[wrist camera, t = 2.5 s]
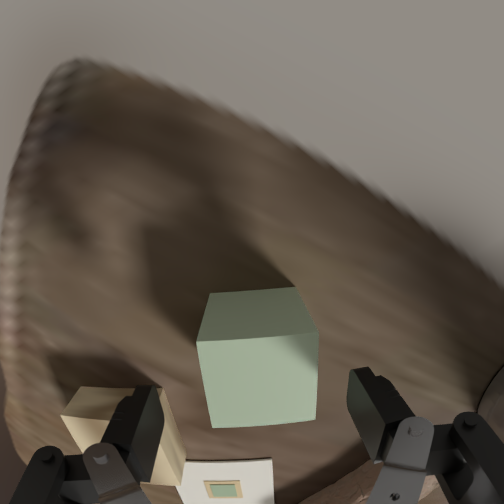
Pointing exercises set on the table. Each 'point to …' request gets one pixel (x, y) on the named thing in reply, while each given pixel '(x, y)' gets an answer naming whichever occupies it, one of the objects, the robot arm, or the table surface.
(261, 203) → the table surface
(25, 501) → the robot arm
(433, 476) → the brick
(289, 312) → the green block
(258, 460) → the page
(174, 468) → the base block
